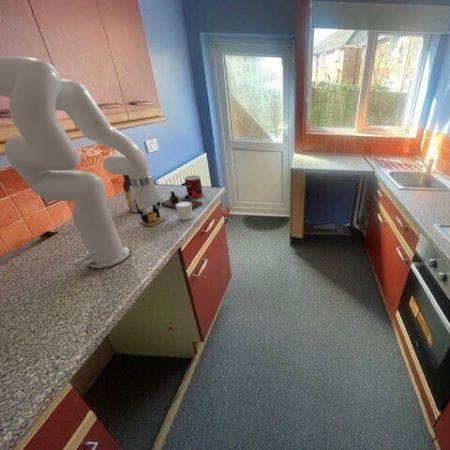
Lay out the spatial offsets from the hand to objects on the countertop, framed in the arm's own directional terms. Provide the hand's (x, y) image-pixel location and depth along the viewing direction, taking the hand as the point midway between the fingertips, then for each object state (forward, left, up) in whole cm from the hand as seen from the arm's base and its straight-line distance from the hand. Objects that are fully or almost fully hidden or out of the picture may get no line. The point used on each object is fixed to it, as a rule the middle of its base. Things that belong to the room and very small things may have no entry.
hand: (151, 219), depth 113 cm
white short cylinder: (+10, -10, -2) cm, 14 cm away
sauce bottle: (+6, +18, -2) cm, 19 cm away
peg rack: (+20, +3, -1) cm, 21 cm away
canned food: (+33, +6, -2) cm, 34 cm away
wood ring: (+20, -2, +3) cm, 20 cm away
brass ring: (0, 0, +2) cm, 2 cm away
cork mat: (0, 0, -1) cm, 1 cm away
